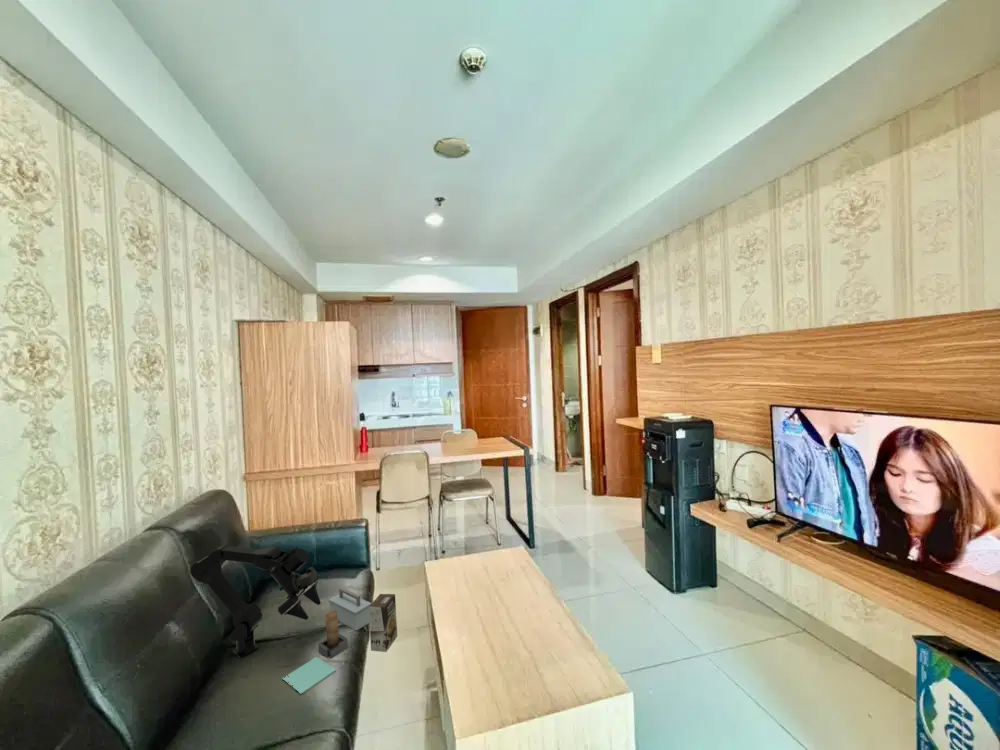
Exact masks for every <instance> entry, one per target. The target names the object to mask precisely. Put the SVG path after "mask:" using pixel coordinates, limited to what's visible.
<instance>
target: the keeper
mask: <svg viewBox="0 0 1000 750" xmlns="http://www.w3.org/2000/svg"><path fill="white" fill-rule="evenodd" d="M338 634H339V644H338V645H336V646H334V647H333V648H331V649H329V648H328V647H327V638H325V639H323V640H321V641H320V642H318V643H317V645H318V653H319V654H320V655H322V656H324V657H325V658H326V659H328V658H330V659H332V658H335V656H337V655H338V654H340V653H342V652H343V651H345V650H346V649H347V648H349V641H348V638H347V637H346V636H344V635H342V634H341V633H339V632H338Z"/></svg>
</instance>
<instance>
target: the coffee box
mask: <svg viewBox="0 0 1000 750" xmlns="http://www.w3.org/2000/svg"><path fill="white" fill-rule="evenodd" d="M371 603H372V604H371V605H370V606H369V620H370V623H369V634H370V635H369V636H370V638H369V640H370V651H372V652H381V653H388V651H389V649H390V647H391V646H392V644H393V643H394V642H395V640H396V639H397V637H398V625H397V622H398V621H397V606H396V605H397V604H396V594H394V593H380V594H379V595H377V597H376V598H375V599H374V600H373V601H372V602H371Z"/></svg>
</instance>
